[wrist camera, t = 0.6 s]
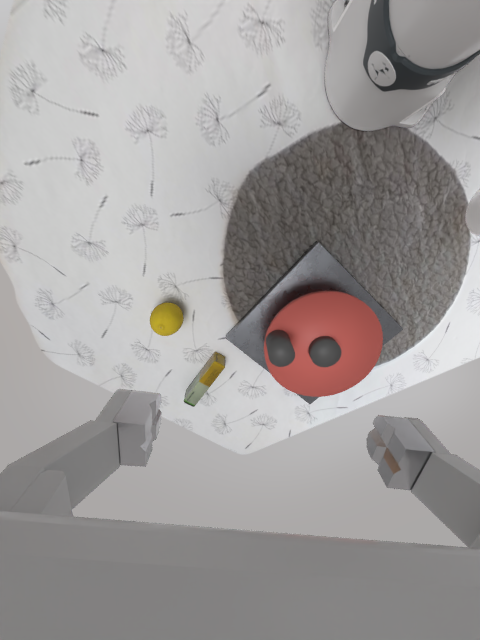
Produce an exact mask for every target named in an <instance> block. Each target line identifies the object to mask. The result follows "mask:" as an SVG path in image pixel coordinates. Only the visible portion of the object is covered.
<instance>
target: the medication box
mask: <svg viewBox="0 0 480 640" xmlns="http://www.w3.org/2000/svg"><path fill="white" fill-rule="evenodd" d="M224 368H225V357H224V356H223V355H221V354H219V353H217V352H214V354H213V355H212V356H211V357H210V359H209V360H208V361H207V363H206V364H205V365H204V367H203V368H202V369H201V371H200V372H199V373H198V375H197V376H196V377H195V379H194V380H193V381H192V383H191V384H190V385H189V387H188V388H187V390H186V393H185V399H184V402H185V403H186V404H188V405H191V406H193V407H194V406H195V405H196V404H197V402H198V401H199V400H200V399H201V397H202V396H203V395H204V393H205V392H206V391H207V390H208V388H209V387H210V386H211V385H212V383H213V382H214V381H215V379H216V378H217V377H218V376H219V374H220V373H221V372H222V370H223V369H224Z"/></svg>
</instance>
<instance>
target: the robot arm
mask: <svg viewBox="0 0 480 640" xmlns="http://www.w3.org/2000/svg"><path fill="white" fill-rule="evenodd" d="M345 3H347V6H346V8H345V6H344V4H345ZM328 29H329V38H330V43H329V49H328V54H327V59H326V65H325V87H326V93H327V97H328V100H329V103H330V105H331V107H332V109H333V111H334V112H335V114H336V115H337V116H338V117H339V119H340V120H341V121H343V122H344V123H345V124H347V125H348V126H350V127H352V128H354V129H357V130H362V131H374V130H379V129H382V128H385V127H389V126H398V127H404V128H410V127H413V126H414V125H416V124H417V123H418V122H419V121H420V120H421V119H422V118H423V116H424V115H425V113H426V112H427V110H428V109H429V108H430V106H431V105H432V103H433V102H434V100H436V99H437V98H439V97H440V96H441V95H442V94H443V93H444V92H445V91H446V86H447V85H448V84H449V82H450V81H451V79H452V78H453V76H454V75H455V73H456V72H458V71H459V70H461V69H462V68H463V67H465V66H466V65H467V64H468V63H469V62H470V61H472V60H473V59H474V58H475V57H476V56H477V55H478V54H480V0H336V1H335V2H334V4H333V5H332V7H331V8H330V11H329V14H328ZM160 405H161V394H160V393H152V392H144V391H136V390H126V389H118V390H117V391H116V392H115V393H114V394H113V396H112V397H111V399H110V400H109V402H108V403H107V405H106V406H105V407H104V409H103V410H102V412H101V413H100V415H99V416H98V417H97V419H96V420H95V421H91V420H90V421H89V422H87V423H85V424H83V425H81V426H79V427H78V428H76V429H74V430H72V431H70V432H68V433H66V434H65V435H63V436H61V437H59V438H57V439H56V440H54V441H52V442H50V443H48V444H46V445H44V446H43V447H41V448H39V449H37V450H35V451H33V452H31V453H29V454H28V455H26V456H24V457H22V458H21V459H18V460H17V461H15V462H13V463H11V464H9V465H8V466H7V467H6V468H5V469H4V470H3V471H2V472H1V474H0V640H480V470H479V469H478V468H476V467H474V466H473V465H471V464H470V463H468V462H466V461H465V460H463V459H461V458H460V457H458V456H457V455H454V454H451V453H450V452H449V451H448V450H447V449H446V448H445V447H444V446H443V444H442V443H441V442H440V441H439V440H438V439H437V437H436V436H435V435H434V434H433V433H432V432H431V431H430V430H429V428H428V427H427V426H426V425H425V424H424V423H423V421H421V420H420V419H418V418H406V417H404V418H402V417H391V416H381V415H378V416H377V417H376V418H375V419H374V422H373V425H374V427H375V428H374V429H373V430H372V431H370V432H369V434H368V437H367V449H368V452H369V455H370V457H371V458H372V459H373V460H374V461H375V462H376V463H377V464H378V465H379V466H378V472H379V474H380V475H381V477H382V479H383V481H384V483H385V485H386V487H387V488H394V489H395V488H396V489H404V490H411V492H412V493H413V494H414V495H415V496H416V497H417V498H418V499H419V500H420V501H421V502H422V503H423V504H424V505H425V506H426V507H427V508H428V509H429V510H430V511H431V512H432V513H433V514H434V515H435V516H437V517H438V518H439V519H440V520H441V521H442V522H443V523H444V524H445V525H446V526H447V527H448V528H449V529H450V530H451V531H452V532H453V533H454V534H455V535H456V536H457V537H458V538H459V539H460V540H461V541H462V542H463V543H465V544H466V545H467V546H468V547H469V548H468V547H454V546H443V545H430V544H417V543H404V542H390V541H377V540H363V539H351V538H338V537H326V536H313V535H301V534H288V533H274V532H263V531H250V530H237V529H224V528H212V527H199V526H186V525H174V524H161V523H148V522H135V521H122V520H110V519H97V518H84V517H73V514H72V509H73V508H74V507H75V506H76V505H77V504H78V503H80V502H81V501H82V500H83V499H84V498H85V497H86V496H88V495H89V494H90V493H91V492H92V491H93V490H94V489H95V488H97V487H98V486H99V485H100V484H101V483H102V482H103V481H104V480H105V479H107V478H108V477H109V476H110V475H111V474H112V473H113V472H114V471H115V470H116V469H118V468H119V466H120V465H128V466H146V464H147V462H148V459H149V457H150V454H151V452H152V442H153V441H154V440H156V438H157V435H158V433H159V428H160V424H161V411H160V410H159V407H160Z"/></svg>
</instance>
